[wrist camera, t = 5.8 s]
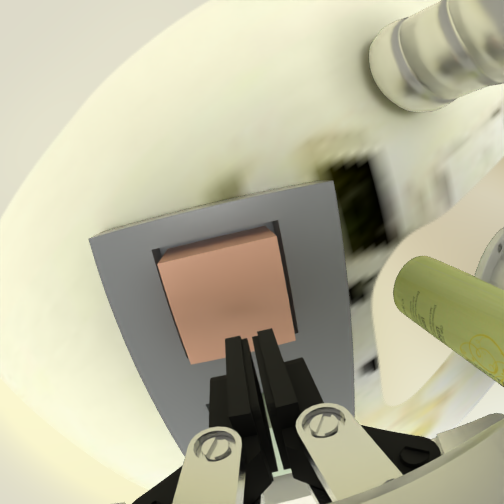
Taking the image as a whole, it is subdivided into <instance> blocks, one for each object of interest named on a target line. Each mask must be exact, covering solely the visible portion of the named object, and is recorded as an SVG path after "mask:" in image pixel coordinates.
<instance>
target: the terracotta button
mask: <svg viewBox="0 0 504 504" xmlns="http://www.w3.org/2000/svg"><path fill="white" fill-rule="evenodd" d="M157 265H158V268H159V272H160V275H161V278H162V282H163V285H164V288H165V291H166V294H167V298H168V301H169V304H170V307H171V310H172V313H173V316H174V319H175V322H176V325H177V327H178V330H179V333H180V336H181V339H182V342H183V344H184V347H185V350H186V353H187V355H188V358H189V361H190V363H191V365H192V364H197V363H202V362H207V361H212V360H217V359H222V358H226V354H225V339H226V338H231V337H235V336H241V339H245V338H247V339H248V343H249V347H250V351H251V352H253V351H255V350H254V345H253V340H252V337H254V336H258V334H257V332H258V331H262V330H266V329H270V328H272V329H273V332H274V335H275V338H276V341H277V344H278V345H281V344H284V343H288V342H292V341H296V339H295V333H294V327H293V321H292V316H291V310H290V304H289V299H288V293H287V288H286V282H285V277H284V272H283V266H282V261H281V256H280V251H279V245H278V240H277V236H276V235H275V234H274V233H273V232H272V231H270V230H269V229H268V228H267V227H266V226H262V227H257V228H253V229H249V230H244V231H240V232H236V233H231V234H227V235H223V236H218V237H214V238H210V239H206V240H202V241H197V242H193V243H189V244H185V245H181V246H177V247H173V248H169V249H167V251H166V252H165V253H164V255H163V256H162V258H161V259H160V261H159V262H158V264H157Z"/></svg>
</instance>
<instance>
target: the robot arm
mask: <svg viewBox="0 0 504 504" xmlns="http://www.w3.org/2000/svg"><path fill="white" fill-rule="evenodd" d="M474 277H476V278H479V279H481V280H483V281H485V282H487V283H489V284H491V285H494V286H496V287H498V288H500V289H502V290H504V228H502V229H501V230H499V231H498V232H497V234H496V235H495V236H494V237H493V238H492V240H491V241H490V243H489V244H488V246H487V247H486V249H485V251H484V253H483V255H482V257H481V260H480V262H479V265H478V267H477V270H476V273H475V276H474ZM257 334H258V336H254V337H252V340H253V345H254V350H255V355H256V359H257V364H258V369H259V374H260V379H261V383H262V388H263V393H264V397H265V402H266V406H267V411H268V415H269V418H270V422H271V426H272V429H273V433H274V437H275V440H276V444H277V447H278V451H279V455H280V458H281V462H282V465H283V469H284V470H286V469H291V471H292V475H293V478H294V479H296V480H299V481H301V482H304V483H307V487H308V489H309V491H310V493H311V495H312V497H313V498H314V500H315V502H316V504H504V415H503V414H499V413H494V414H490V415H487V416H485V417H482V418H480V419H477V420H475V421H473V422H470V423H467V424H465V425H462V426H459V427H457V428H454V429H451V430H448V431H445V432H442V433H439V434H437V436H436V438H433V439H428V438H425V437H421V436H414V435H408V434H402V433H397V432H392V431H386V430H381V429H377V428H372V427H367V426H363V425H360V424H359V423H358V422H357V420H356V419H355V418H354V417H353V416H352V414H351V413H350V412H349V411H348V410H347V409H346V408H344V407H343V406H340V405H338V404H333V403H324V402H323V400H322V397H321V395H320V393H319V391H318V389H317V387H316V384H315V382H314V380H313V378H312V376H311V374H310V371H309V369H308V367H307V365H306V363H305V361H304V359H303V358H302V357H301V358H297V359H294V360H290V361H286V362H284V361H283V358H282V355H281V352H280V349H279V347H278V344H277V341H276V338H275V335H274V332H273V329H272V328H270V329H266V330H262V331H258V332H257ZM225 354H226V375H223V376H217V377H212V378H210V396H209V428H208V429H206V430H203V431H201V432H200V433H198V434H196V435H195V436H194V437H193V438H192V440H191V441H190V443H189V445H188V448H187V452H186V456H185V459H184V463H183V465H182V466H181V467H180V468H179V469H177V470H176V471H175V472H173V473H172V474H171V475H170V476H168V477H167V478H166V479H164V480H163V481H161V482H160V483H159V484H157V485H156V486H155V487H153V488H152V489H150V490H149V491H148V492H146V493H145V494H143V495H142V496H141V497H139V498H138V499H136V500H135V501H134V502H133V503H132V504H265V496H264V491H265V490H266V489H267V488H268V487H269V486H270V485H271V484H272V481H274V480H273V475H272V473H273V472H277V471H278V467H277V462H276V457H275V453H274V448H273V443H272V439H271V434H270V429H269V425H268V420H267V415H266V410H265V406H264V401H263V397H262V393H261V389H260V385H259V382H258V378H257V374H256V370H255V366H254V363H253V359H252V355H251V351H250V347H249V343H248V339H247V338H245V339H241V336H235V337H231V338H226V339H225ZM116 504H125V503H116Z"/></svg>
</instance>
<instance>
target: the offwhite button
mask: <svg viewBox="0 0 504 504" xmlns="http://www.w3.org/2000/svg"><path fill="white" fill-rule="evenodd" d="M273 480H274V481H272V484H271V485H270V486H269V487H268V488H267V489H266V490H265V491H264V496H265V504H316V502H315V500H314V498H313V497H312V495H311V493H310V491H309V489H308V487H307V483H304V482H301V481H299V480H296V479H294V478H293V475H292V473H289V474H285V475H281V476H276V477H273Z"/></svg>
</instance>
